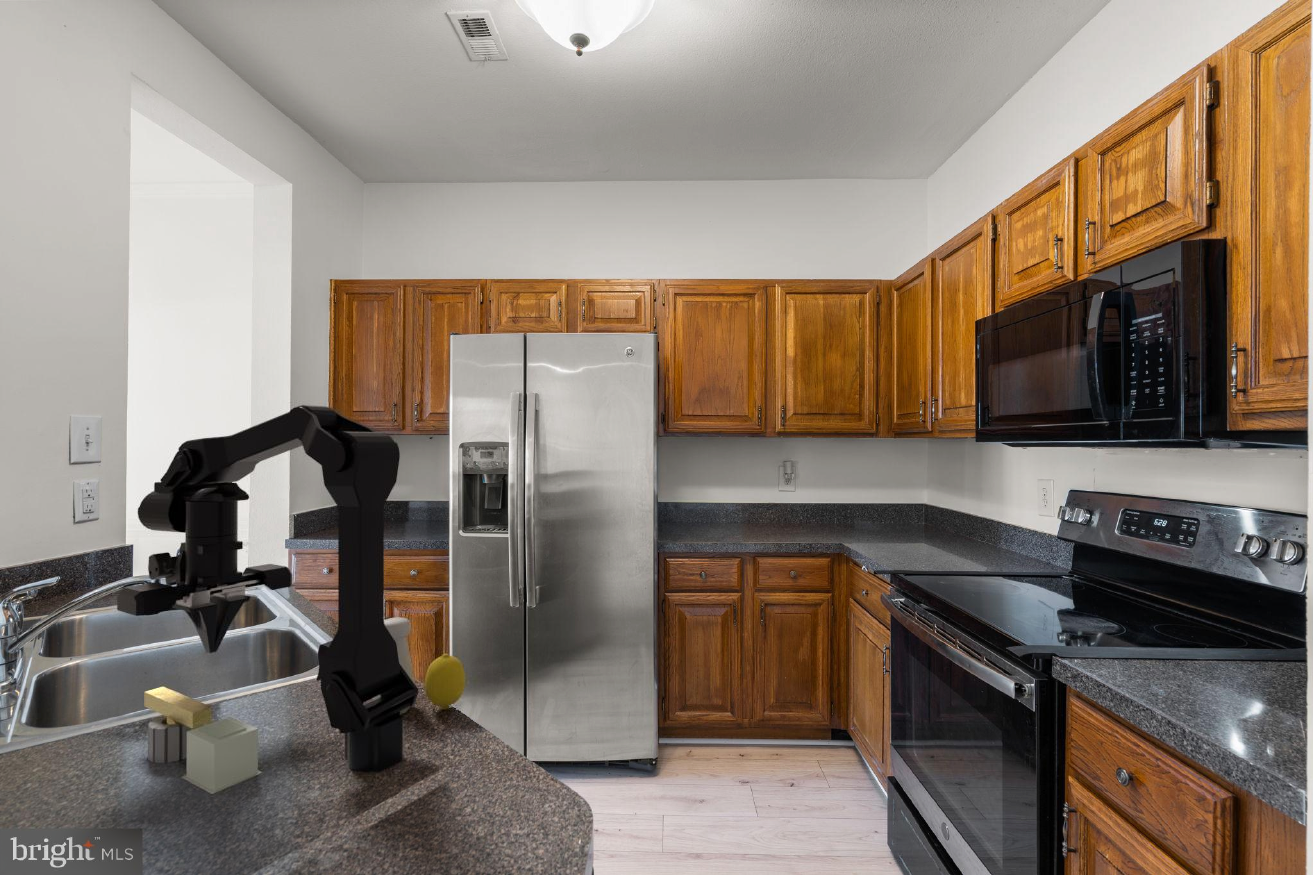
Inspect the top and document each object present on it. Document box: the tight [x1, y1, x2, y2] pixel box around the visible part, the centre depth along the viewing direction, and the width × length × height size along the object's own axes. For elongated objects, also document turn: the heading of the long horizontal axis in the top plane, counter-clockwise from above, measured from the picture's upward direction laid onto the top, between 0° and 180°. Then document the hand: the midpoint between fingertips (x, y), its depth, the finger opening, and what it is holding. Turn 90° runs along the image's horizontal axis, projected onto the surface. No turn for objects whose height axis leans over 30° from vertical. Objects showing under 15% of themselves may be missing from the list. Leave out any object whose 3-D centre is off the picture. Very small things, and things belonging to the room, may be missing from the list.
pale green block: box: [185, 716, 259, 791], centre depth 73 cm, size 6×4×5 cm
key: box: [143, 686, 213, 729], centre depth 78 cm, size 12×2×6 cm, turn 60°
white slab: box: [147, 714, 263, 795], centre depth 75 cm, size 17×10×5 cm, turn 60°
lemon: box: [424, 653, 466, 711], centre depth 93 cm, size 6×6×8 cm
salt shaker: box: [372, 616, 416, 715], centre depth 93 cm, size 6×6×13 cm
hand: (211, 652), depth 86 cm, fingers closed
